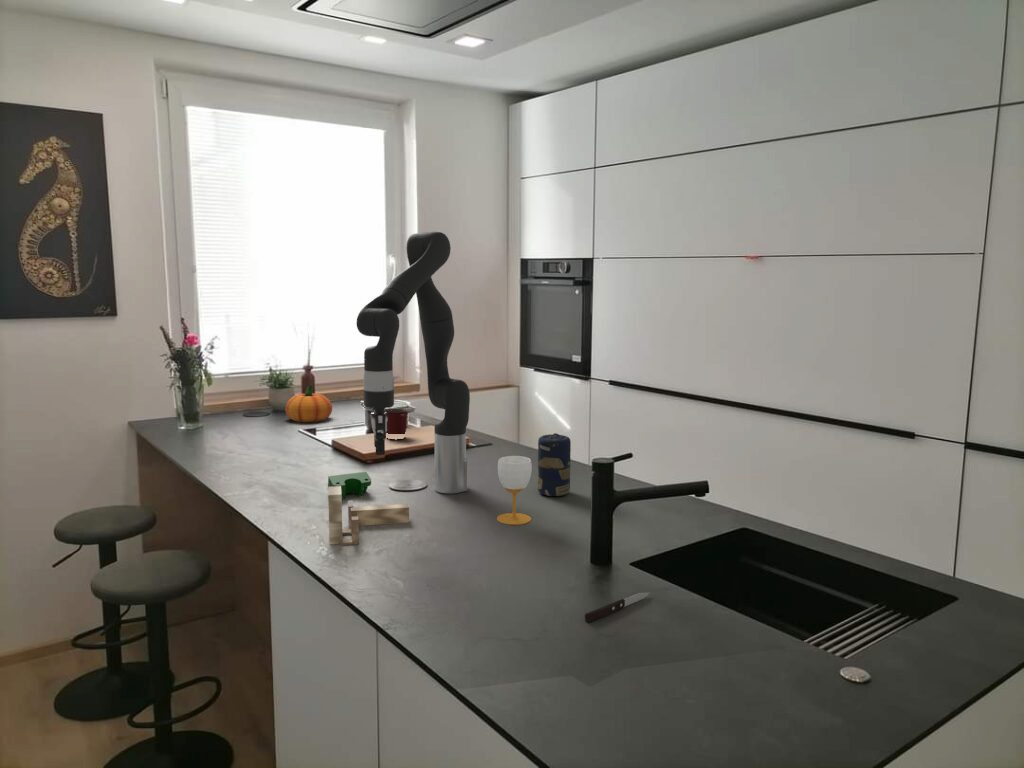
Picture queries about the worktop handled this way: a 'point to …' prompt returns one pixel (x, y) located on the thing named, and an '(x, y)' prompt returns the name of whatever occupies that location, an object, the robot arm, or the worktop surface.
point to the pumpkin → (308, 407)
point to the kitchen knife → (613, 607)
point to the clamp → (350, 483)
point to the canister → (554, 464)
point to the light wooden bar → (380, 514)
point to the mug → (396, 420)
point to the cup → (514, 484)
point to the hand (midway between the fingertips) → (379, 450)
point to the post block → (340, 519)
